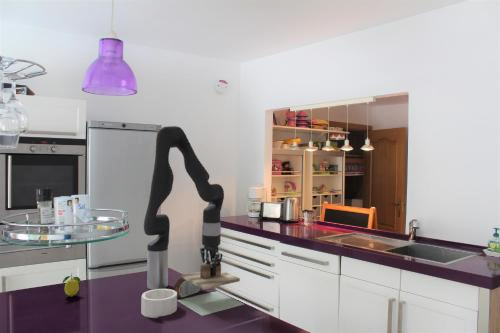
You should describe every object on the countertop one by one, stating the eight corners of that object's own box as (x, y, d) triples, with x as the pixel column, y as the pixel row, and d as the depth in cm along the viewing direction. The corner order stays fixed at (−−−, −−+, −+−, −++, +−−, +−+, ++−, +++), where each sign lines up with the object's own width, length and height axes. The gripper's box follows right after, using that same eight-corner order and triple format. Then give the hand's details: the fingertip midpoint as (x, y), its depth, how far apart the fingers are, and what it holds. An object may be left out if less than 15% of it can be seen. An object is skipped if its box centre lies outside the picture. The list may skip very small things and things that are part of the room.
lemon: (61, 299, 163) (61, 275, 163) (63, 295, 169) (63, 272, 169) (79, 298, 165) (79, 274, 165) (80, 293, 171) (80, 270, 171)
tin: (199, 290, 177) (199, 271, 177) (204, 292, 175) (204, 273, 175) (173, 299, 165) (173, 279, 165) (178, 301, 163) (178, 280, 163)
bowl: (136, 309, 153) (136, 293, 153) (167, 302, 161) (167, 286, 161) (150, 320, 143) (150, 302, 143) (182, 312, 151) (182, 295, 151)
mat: (176, 301, 162) (176, 300, 162) (217, 292, 174) (217, 291, 174) (201, 317, 146) (201, 315, 146) (244, 305, 159) (244, 304, 159)
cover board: (181, 277, 162) (182, 263, 162) (216, 271, 173) (216, 257, 172) (203, 289, 149) (203, 273, 149) (239, 281, 159) (239, 266, 159)
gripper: (194, 231, 163) (193, 272, 164) (213, 237, 152) (212, 281, 153) (209, 229, 168) (209, 269, 168) (228, 235, 157) (228, 278, 157)
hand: (210, 275), depth 161 cm, fingers closed on cover board, 3 cm apart
